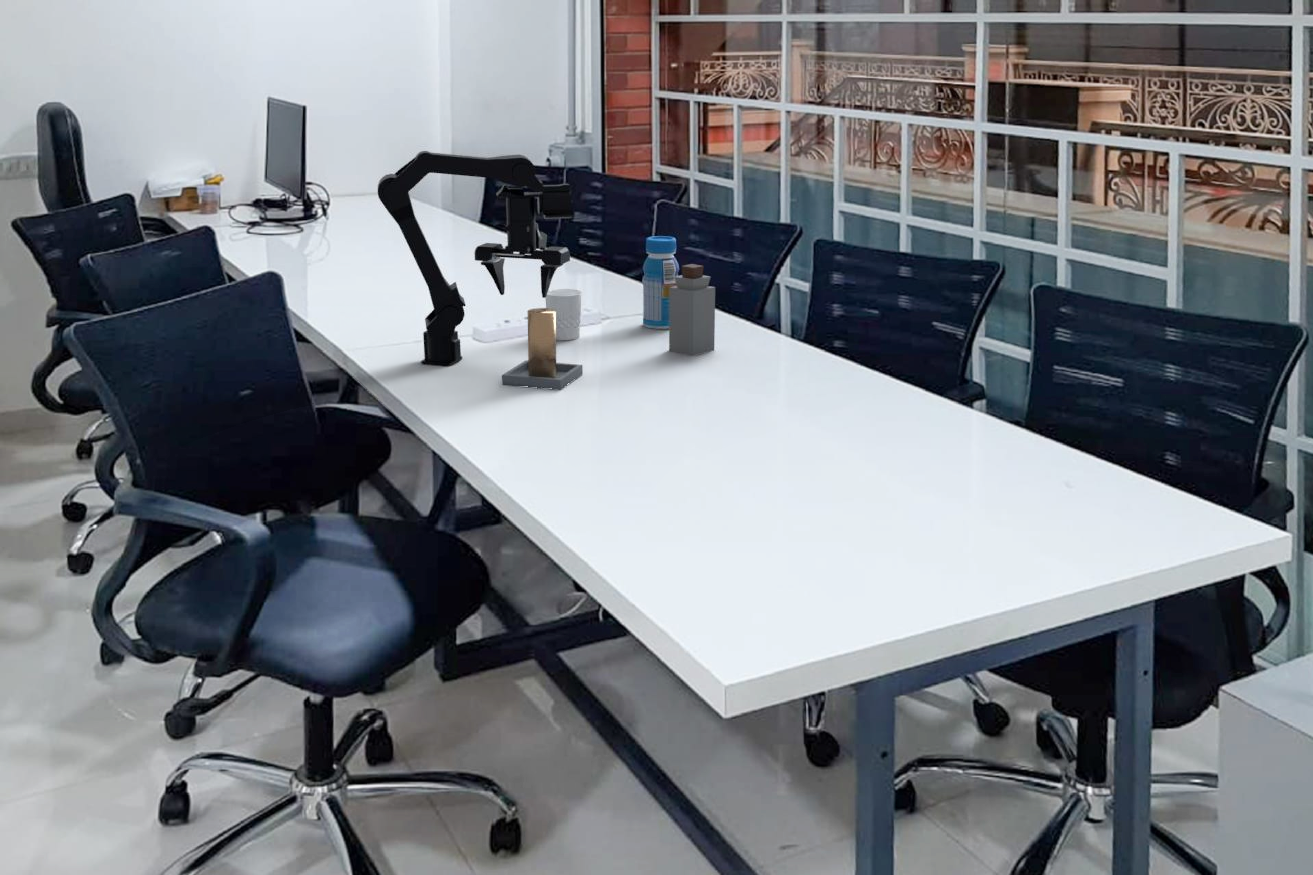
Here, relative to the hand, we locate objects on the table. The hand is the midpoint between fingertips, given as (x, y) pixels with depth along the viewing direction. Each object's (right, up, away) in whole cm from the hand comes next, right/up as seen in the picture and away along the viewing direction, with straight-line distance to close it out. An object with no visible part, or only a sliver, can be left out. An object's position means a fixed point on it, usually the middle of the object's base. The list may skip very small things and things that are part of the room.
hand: (523, 296), depth 282 cm
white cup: (+7, -7, +22) cm, 24 cm away
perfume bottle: (+35, -11, +11) cm, 38 cm away
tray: (+5, -18, -13) cm, 22 cm away
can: (+5, -17, -13) cm, 22 cm away
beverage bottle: (+28, -4, +33) cm, 43 cm away
